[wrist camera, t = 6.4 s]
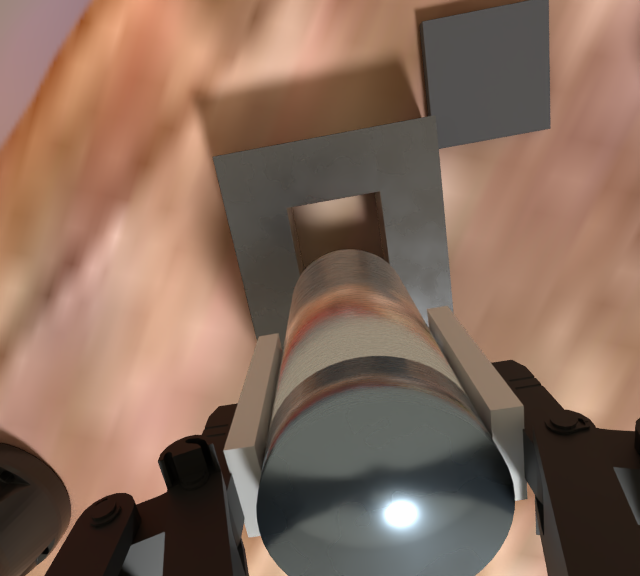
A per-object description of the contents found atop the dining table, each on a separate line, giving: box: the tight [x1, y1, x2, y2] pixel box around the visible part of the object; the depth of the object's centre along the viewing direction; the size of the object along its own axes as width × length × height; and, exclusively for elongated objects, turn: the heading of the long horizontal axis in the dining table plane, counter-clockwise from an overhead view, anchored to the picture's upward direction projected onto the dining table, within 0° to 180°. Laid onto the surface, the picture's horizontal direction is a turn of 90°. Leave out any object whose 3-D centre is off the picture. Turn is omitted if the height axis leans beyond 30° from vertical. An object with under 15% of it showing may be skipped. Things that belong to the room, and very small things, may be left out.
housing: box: [213, 115, 453, 351], centre depth 36 cm, size 16×16×4 cm
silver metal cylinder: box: [256, 249, 515, 576], centre depth 16 cm, size 6×6×13 cm
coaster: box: [420, 0, 550, 149], centre depth 34 cm, size 9×9×1 cm
